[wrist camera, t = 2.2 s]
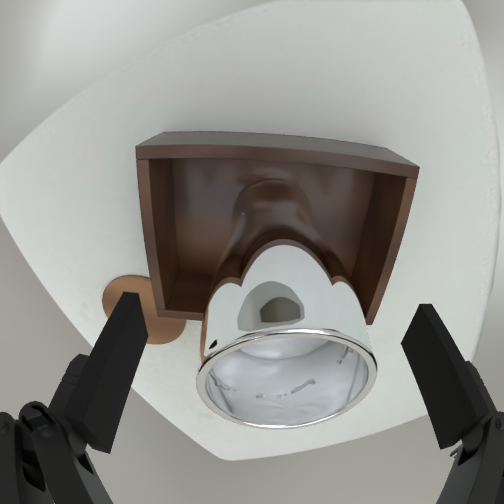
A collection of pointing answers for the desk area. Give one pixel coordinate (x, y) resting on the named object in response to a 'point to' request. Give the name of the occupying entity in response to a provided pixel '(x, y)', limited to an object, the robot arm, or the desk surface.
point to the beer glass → (281, 320)
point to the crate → (255, 170)
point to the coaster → (143, 308)
